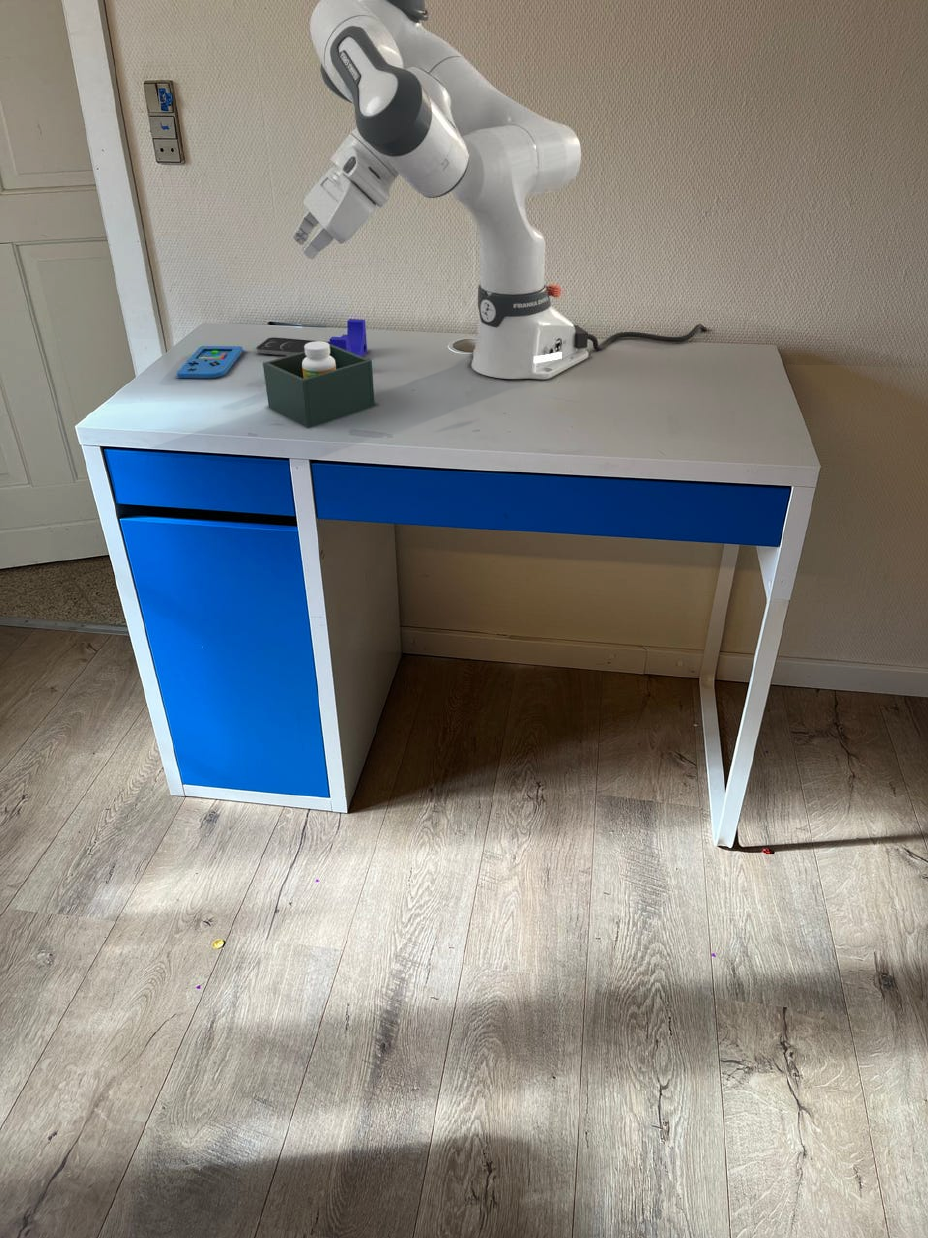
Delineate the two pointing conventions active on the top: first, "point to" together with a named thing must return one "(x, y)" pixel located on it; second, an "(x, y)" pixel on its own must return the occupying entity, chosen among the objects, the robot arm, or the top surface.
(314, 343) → the supplement bottle
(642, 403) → the top surface
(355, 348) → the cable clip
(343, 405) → the bin
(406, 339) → the top surface
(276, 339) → the smartphone
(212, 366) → the handheld gaming device
